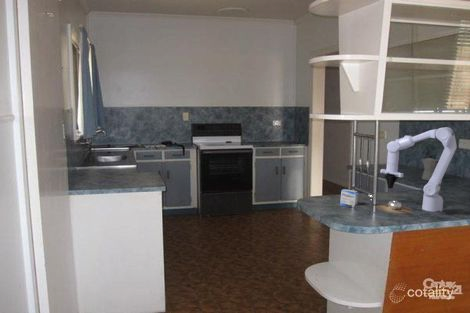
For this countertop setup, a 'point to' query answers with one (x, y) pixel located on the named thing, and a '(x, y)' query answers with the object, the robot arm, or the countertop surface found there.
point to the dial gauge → (371, 199)
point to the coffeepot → (428, 167)
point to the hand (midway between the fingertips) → (390, 188)
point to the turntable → (403, 210)
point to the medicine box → (348, 198)
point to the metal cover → (394, 205)
